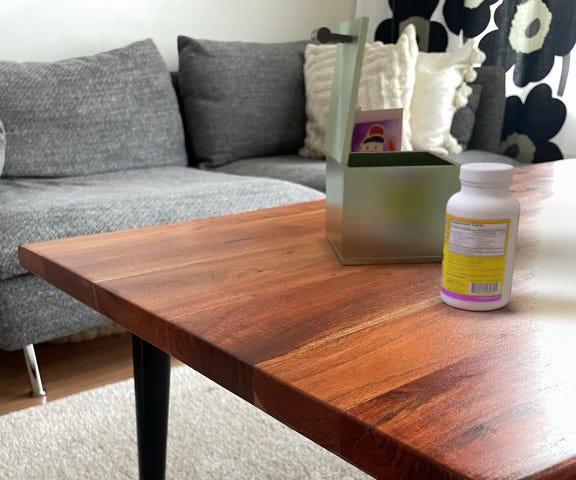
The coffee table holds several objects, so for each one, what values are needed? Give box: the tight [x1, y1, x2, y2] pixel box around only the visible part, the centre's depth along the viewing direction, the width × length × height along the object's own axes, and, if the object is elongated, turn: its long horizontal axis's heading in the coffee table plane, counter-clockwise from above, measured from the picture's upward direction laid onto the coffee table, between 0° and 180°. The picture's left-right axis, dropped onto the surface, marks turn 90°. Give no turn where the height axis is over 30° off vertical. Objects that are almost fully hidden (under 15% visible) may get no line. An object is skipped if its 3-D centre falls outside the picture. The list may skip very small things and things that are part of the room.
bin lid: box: [310, 16, 370, 165], centre depth 82 cm, size 14×15×5 cm
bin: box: [324, 149, 463, 266], centre depth 88 cm, size 14×15×11 cm
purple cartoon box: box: [349, 106, 404, 152], centre depth 106 cm, size 11×7×15 cm, turn 129°
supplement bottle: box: [440, 162, 522, 312], centre depth 68 cm, size 7×7×13 cm
